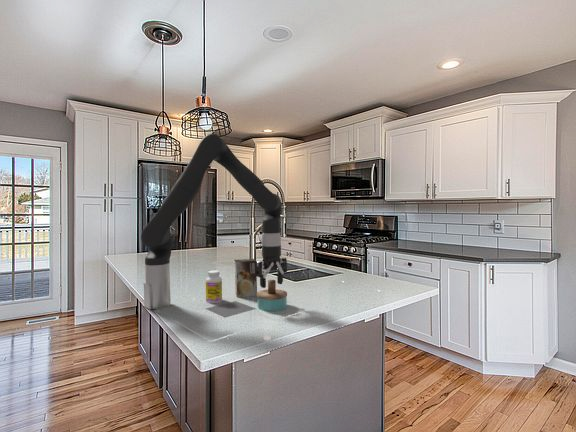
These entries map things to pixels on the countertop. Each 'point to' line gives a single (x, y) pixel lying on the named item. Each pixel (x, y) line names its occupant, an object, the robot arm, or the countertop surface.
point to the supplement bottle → (213, 287)
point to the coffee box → (245, 278)
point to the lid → (271, 292)
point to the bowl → (272, 304)
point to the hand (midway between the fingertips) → (271, 285)
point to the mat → (230, 309)
